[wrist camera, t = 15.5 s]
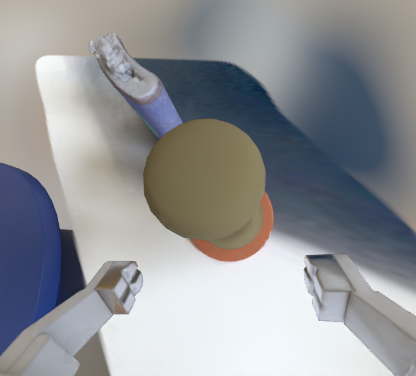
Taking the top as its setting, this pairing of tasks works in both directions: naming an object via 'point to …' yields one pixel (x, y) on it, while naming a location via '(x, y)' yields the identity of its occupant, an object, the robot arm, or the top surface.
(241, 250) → the coaster
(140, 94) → the flask
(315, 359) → the top surface
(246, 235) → the cork
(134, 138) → the top surface
